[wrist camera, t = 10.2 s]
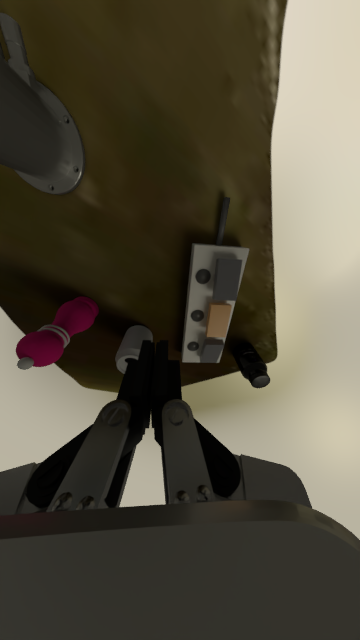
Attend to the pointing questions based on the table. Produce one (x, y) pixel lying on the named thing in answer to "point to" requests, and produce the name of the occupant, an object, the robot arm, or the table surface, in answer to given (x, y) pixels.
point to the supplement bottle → (251, 365)
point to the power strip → (206, 289)
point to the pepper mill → (56, 333)
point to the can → (131, 345)
